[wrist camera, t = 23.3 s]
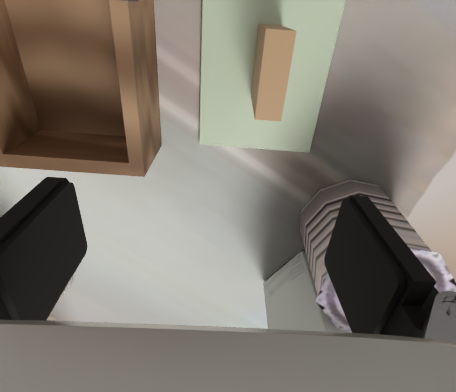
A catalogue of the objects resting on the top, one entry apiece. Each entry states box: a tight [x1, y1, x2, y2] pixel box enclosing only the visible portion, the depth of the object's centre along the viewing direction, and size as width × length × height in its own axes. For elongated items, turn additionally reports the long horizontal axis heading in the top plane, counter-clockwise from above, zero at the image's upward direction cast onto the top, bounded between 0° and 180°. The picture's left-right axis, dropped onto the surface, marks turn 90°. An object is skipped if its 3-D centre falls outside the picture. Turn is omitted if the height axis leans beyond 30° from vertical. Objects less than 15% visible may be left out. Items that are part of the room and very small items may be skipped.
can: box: [300, 179, 456, 331], centre depth 31 cm, size 11×11×12 cm
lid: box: [199, 0, 346, 153], centre depth 24 cm, size 17×12×8 cm
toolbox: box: [0, 0, 161, 177], centre depth 23 cm, size 18×14×9 cm
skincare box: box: [263, 251, 352, 333], centre depth 35 cm, size 8×6×15 cm
